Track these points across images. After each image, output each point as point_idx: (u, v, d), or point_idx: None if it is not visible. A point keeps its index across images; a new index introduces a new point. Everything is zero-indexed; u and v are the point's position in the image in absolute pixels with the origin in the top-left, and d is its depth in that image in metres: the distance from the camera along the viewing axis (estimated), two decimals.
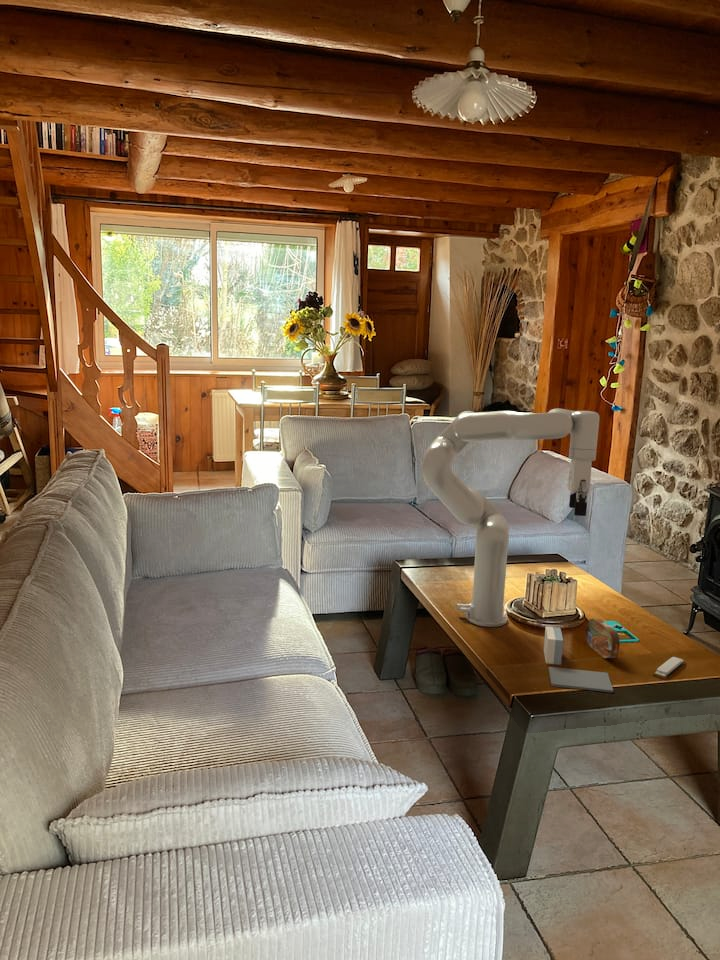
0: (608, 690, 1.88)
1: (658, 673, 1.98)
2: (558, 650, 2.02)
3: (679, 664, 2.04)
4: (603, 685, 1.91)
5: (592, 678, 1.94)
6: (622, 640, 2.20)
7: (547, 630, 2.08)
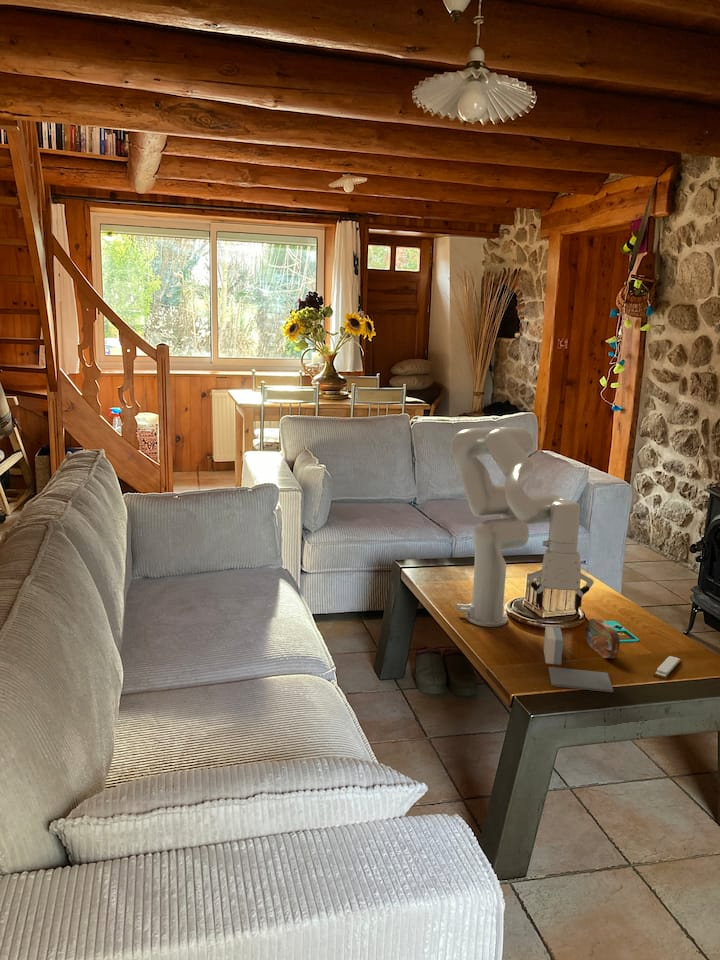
0: (608, 690, 1.88)
1: (658, 673, 1.98)
2: (558, 650, 2.02)
3: (677, 663, 2.04)
4: (603, 685, 1.91)
5: (592, 678, 1.94)
6: (622, 640, 2.20)
7: (547, 630, 2.08)
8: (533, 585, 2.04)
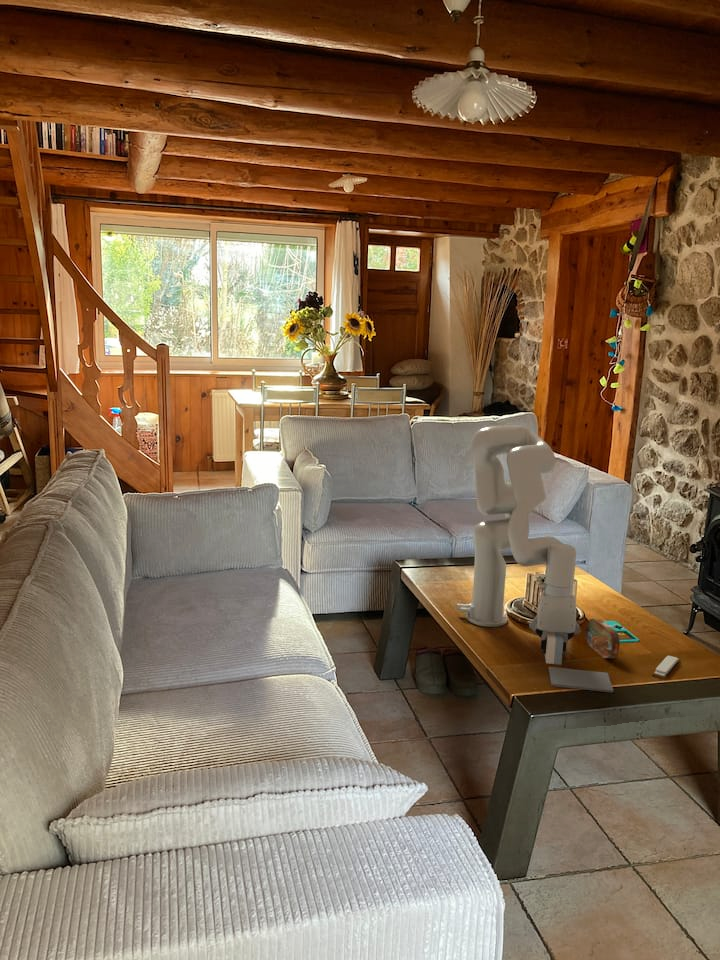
0: (608, 690, 1.88)
1: (657, 673, 1.98)
2: (558, 650, 2.02)
3: (675, 663, 2.05)
4: (603, 685, 1.91)
5: (592, 678, 1.94)
6: (622, 640, 2.20)
7: None
8: (538, 632, 2.06)
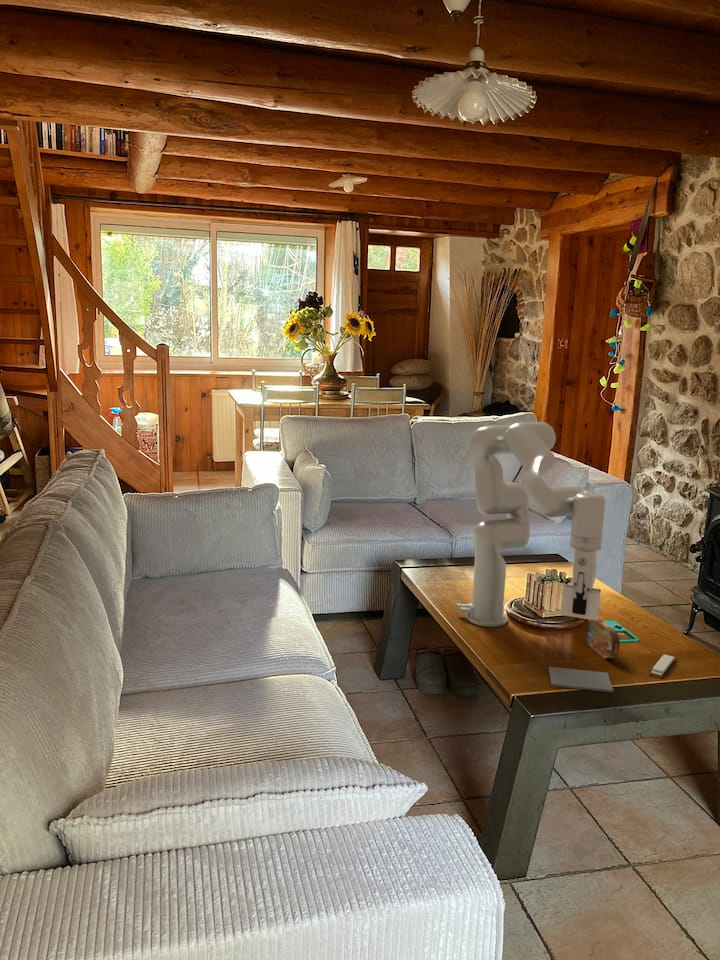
0: (608, 690, 1.88)
1: (654, 672, 1.98)
2: (599, 601, 1.93)
3: (671, 662, 2.05)
4: (603, 685, 1.91)
5: (592, 678, 1.94)
6: (622, 640, 2.20)
7: (574, 590, 1.92)
8: (583, 594, 1.88)
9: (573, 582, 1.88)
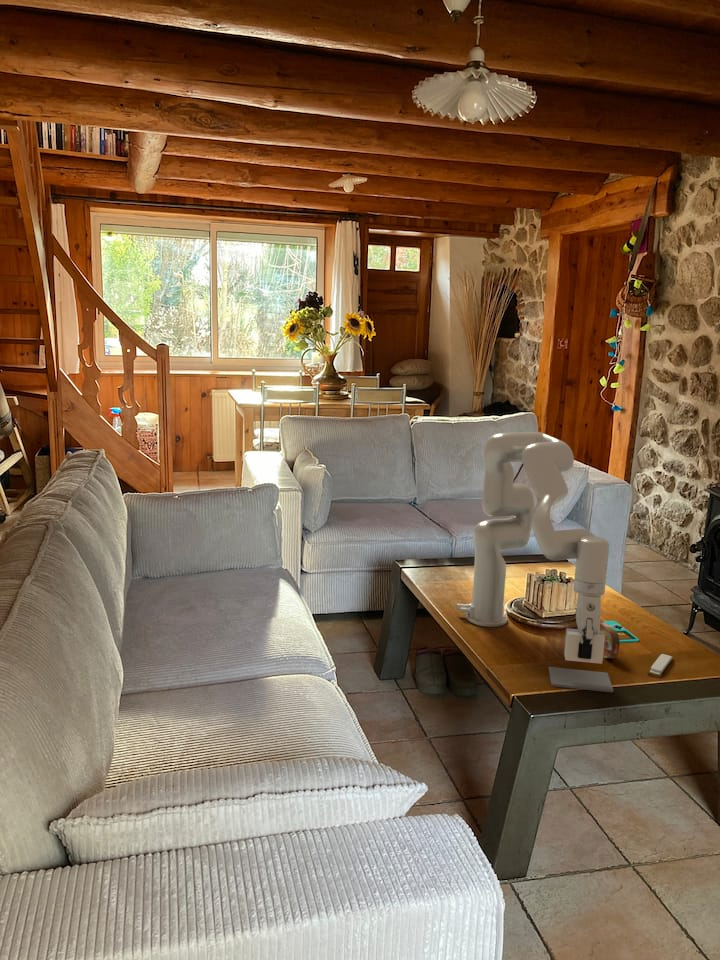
0: (608, 690, 1.88)
1: (653, 672, 1.99)
2: None
3: (669, 661, 2.06)
4: (603, 685, 1.91)
5: (592, 678, 1.94)
6: (622, 640, 2.20)
7: (579, 634, 1.90)
8: None
9: (581, 628, 1.87)
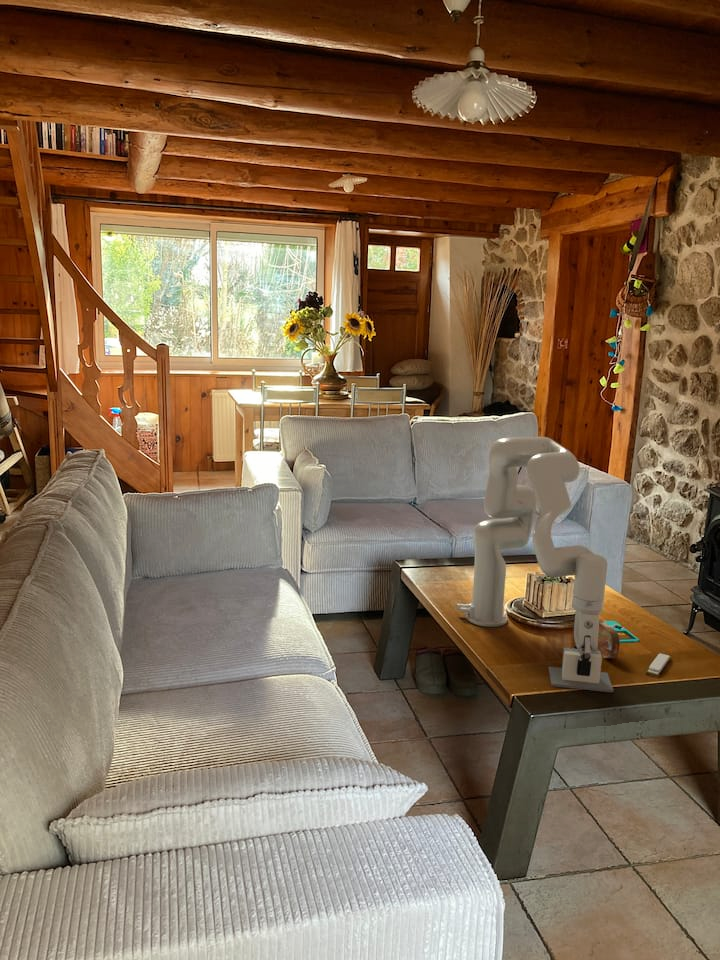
0: (608, 690, 1.88)
1: (651, 671, 1.99)
2: None
3: (667, 661, 2.06)
4: (603, 685, 1.91)
5: None
6: (622, 640, 2.20)
7: (576, 654, 1.91)
8: None
9: (579, 645, 1.88)
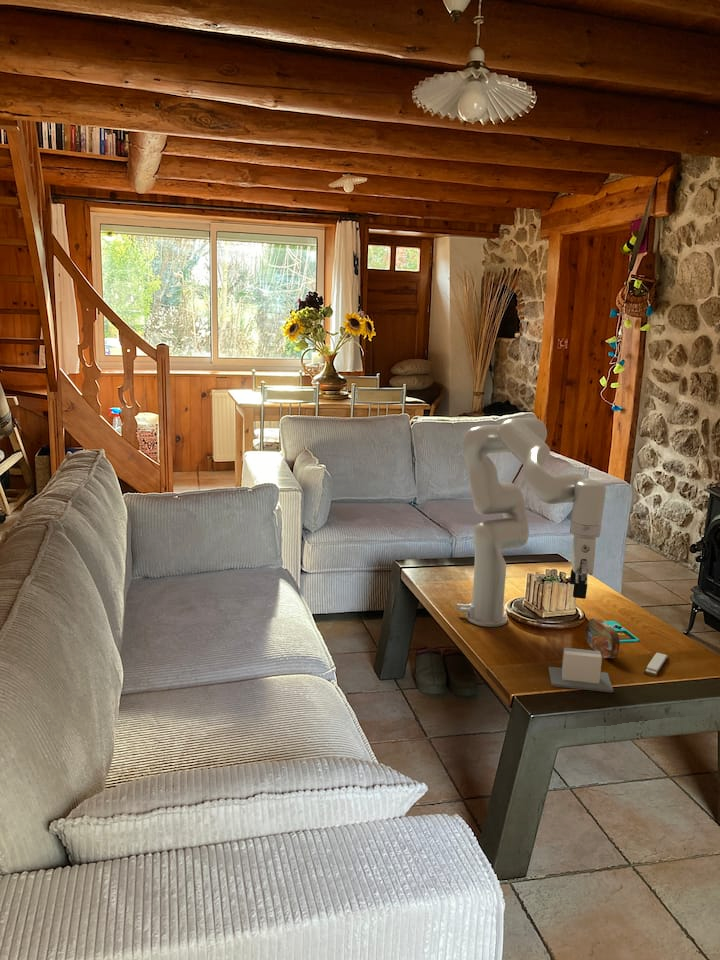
0: (608, 690, 1.88)
1: (649, 671, 1.99)
2: None
3: (664, 660, 2.06)
4: (603, 685, 1.91)
5: None
6: (622, 640, 2.20)
7: (576, 654, 1.91)
8: None
9: (575, 569, 1.92)
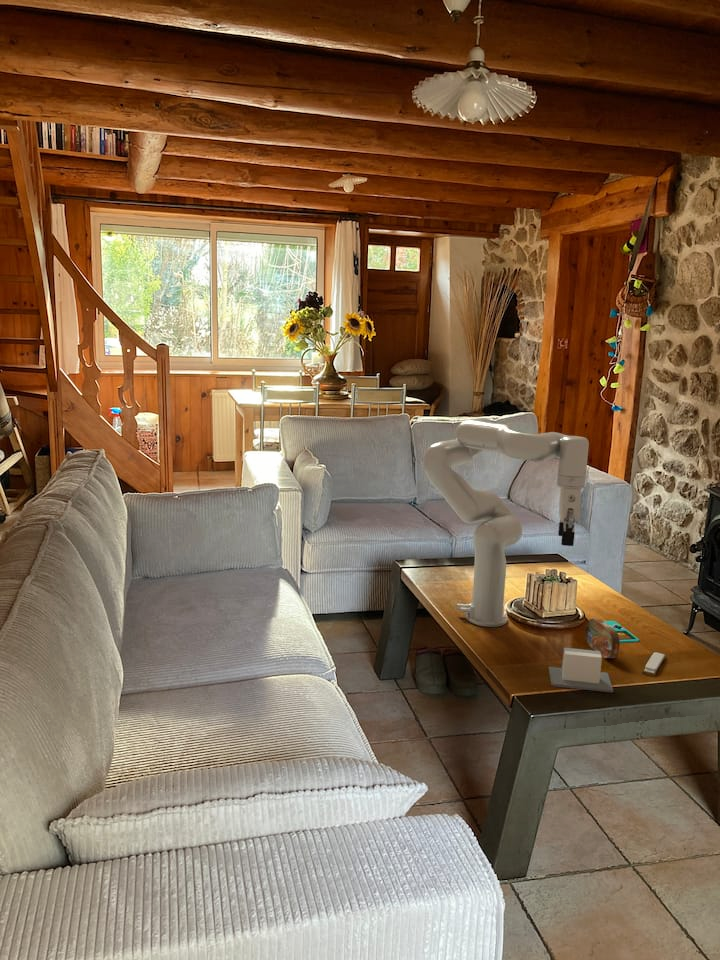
0: (608, 690, 1.88)
1: (647, 670, 1.99)
2: None
3: (662, 659, 2.07)
4: (603, 685, 1.91)
5: None
6: (622, 640, 2.20)
7: (576, 654, 1.91)
8: None
9: (563, 518, 2.06)
